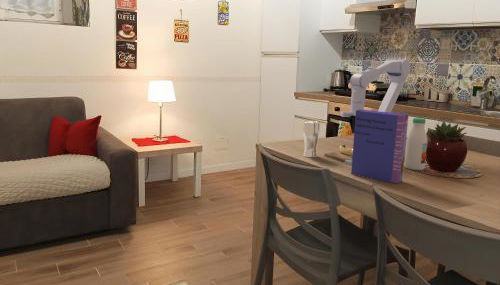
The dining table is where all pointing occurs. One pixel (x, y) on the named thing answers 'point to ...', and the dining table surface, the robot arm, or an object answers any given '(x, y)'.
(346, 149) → the swing bar
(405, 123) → the purple book
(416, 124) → the milk bottle
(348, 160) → the door and jamb
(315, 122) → the beer glass
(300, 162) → the dining table surface
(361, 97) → the robot arm
